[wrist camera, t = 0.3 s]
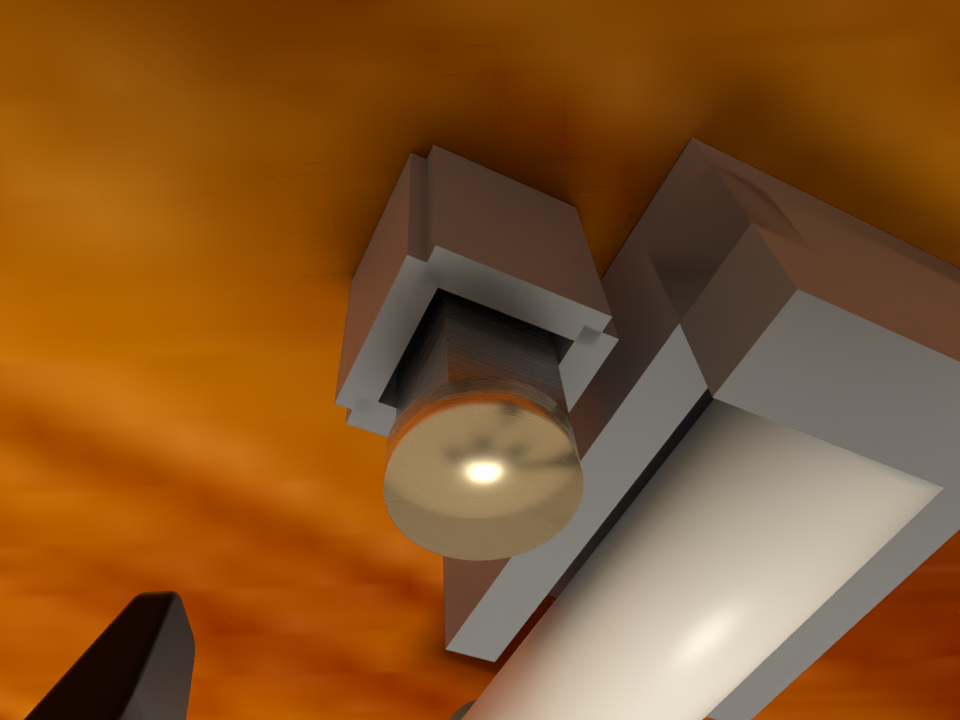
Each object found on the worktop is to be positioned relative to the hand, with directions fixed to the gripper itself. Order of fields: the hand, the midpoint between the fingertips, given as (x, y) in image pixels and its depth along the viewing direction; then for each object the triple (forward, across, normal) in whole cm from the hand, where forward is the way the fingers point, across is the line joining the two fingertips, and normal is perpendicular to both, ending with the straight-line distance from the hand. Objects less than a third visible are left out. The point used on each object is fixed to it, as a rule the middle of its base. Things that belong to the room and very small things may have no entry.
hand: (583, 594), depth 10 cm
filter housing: (+13, -3, +7) cm, 15 cm away
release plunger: (+11, +1, +3) cm, 11 cm away
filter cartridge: (+11, -4, +12) cm, 17 cm away
